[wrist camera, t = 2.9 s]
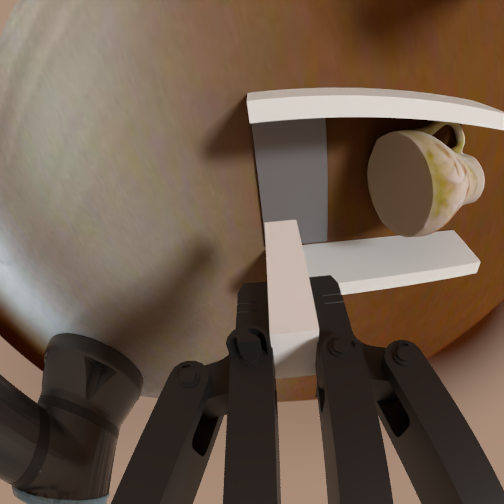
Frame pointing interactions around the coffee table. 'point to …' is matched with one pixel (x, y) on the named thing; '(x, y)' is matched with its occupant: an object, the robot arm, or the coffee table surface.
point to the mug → (421, 179)
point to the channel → (316, 182)
